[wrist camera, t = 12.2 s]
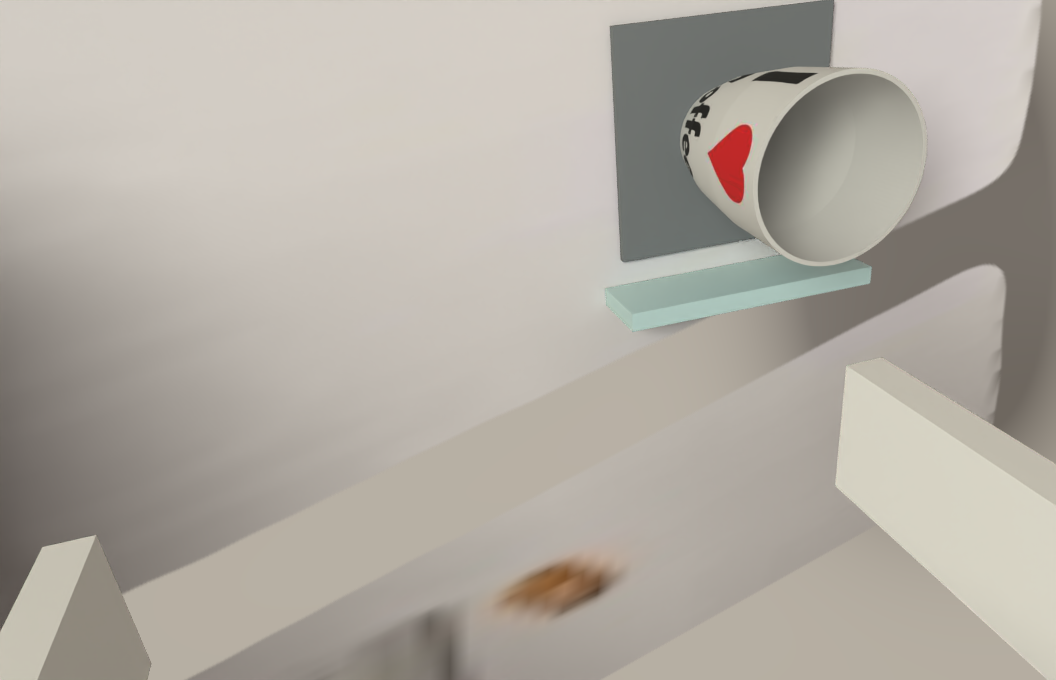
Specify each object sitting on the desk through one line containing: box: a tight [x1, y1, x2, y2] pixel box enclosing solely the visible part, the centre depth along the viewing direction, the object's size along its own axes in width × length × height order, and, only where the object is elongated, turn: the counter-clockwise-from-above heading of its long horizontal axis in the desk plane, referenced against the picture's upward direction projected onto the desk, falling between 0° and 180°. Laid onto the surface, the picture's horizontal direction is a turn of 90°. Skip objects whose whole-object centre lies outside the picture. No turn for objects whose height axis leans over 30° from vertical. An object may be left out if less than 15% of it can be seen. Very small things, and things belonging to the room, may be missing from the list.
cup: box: [680, 67, 927, 266], centre depth 36 cm, size 8×8×10 cm
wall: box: [605, 255, 872, 332], centre depth 42 cm, size 14×1×4 cm, turn 95°
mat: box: [610, 0, 834, 262], centre depth 40 cm, size 12×12×1 cm
